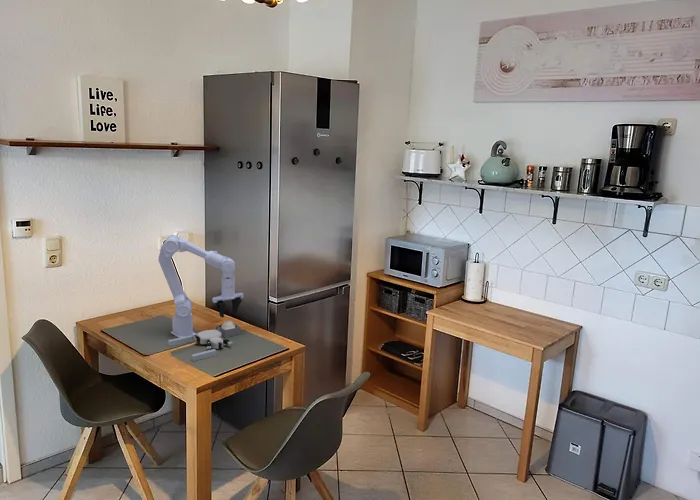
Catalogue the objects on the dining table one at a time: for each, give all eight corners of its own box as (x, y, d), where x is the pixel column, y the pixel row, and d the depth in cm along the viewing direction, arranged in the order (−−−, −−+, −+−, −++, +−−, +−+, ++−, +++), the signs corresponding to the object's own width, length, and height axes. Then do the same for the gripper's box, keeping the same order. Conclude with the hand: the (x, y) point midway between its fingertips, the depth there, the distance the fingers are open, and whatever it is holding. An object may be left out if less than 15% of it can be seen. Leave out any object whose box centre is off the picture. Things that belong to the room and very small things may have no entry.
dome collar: (215, 332, 241) (215, 325, 240) (231, 329, 246) (231, 322, 246) (225, 337, 235) (225, 330, 235) (240, 333, 241) (240, 326, 240)
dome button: (218, 330, 241) (218, 320, 240) (230, 327, 245) (230, 317, 244) (225, 334, 236) (225, 323, 235) (237, 331, 241) (237, 321, 240)
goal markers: (167, 344, 224) (167, 340, 224) (190, 339, 231) (190, 335, 231) (193, 361, 209) (193, 356, 209) (216, 355, 216) (216, 350, 215)
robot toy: (234, 349, 225) (217, 336, 236) (234, 339, 224) (217, 326, 235) (206, 355, 217) (190, 342, 228) (207, 345, 216) (191, 332, 227)
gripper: (218, 290, 229) (218, 320, 231) (247, 285, 239) (247, 314, 241) (209, 286, 234) (210, 316, 236) (238, 282, 244) (238, 310, 246)
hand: (228, 315), depth 239 cm, fingers open, 6 cm apart
